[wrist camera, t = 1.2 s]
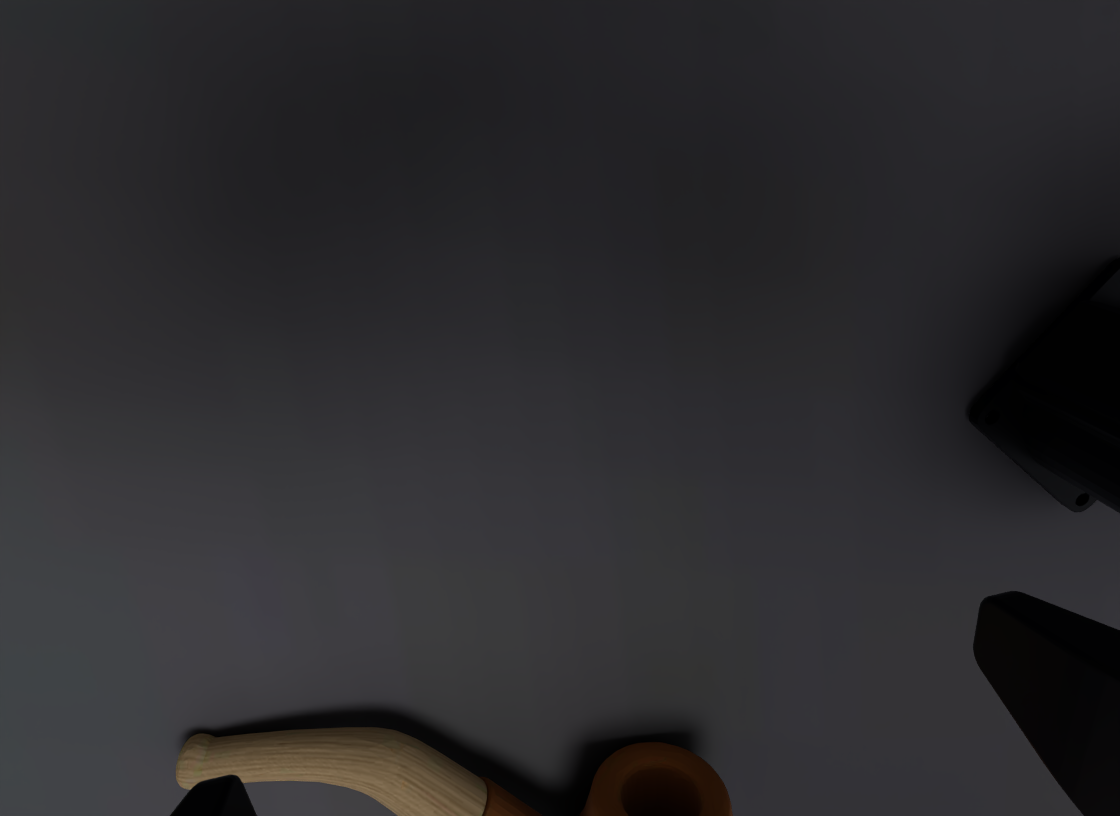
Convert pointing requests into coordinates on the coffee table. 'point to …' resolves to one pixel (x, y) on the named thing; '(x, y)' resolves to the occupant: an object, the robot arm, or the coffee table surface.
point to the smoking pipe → (449, 773)
